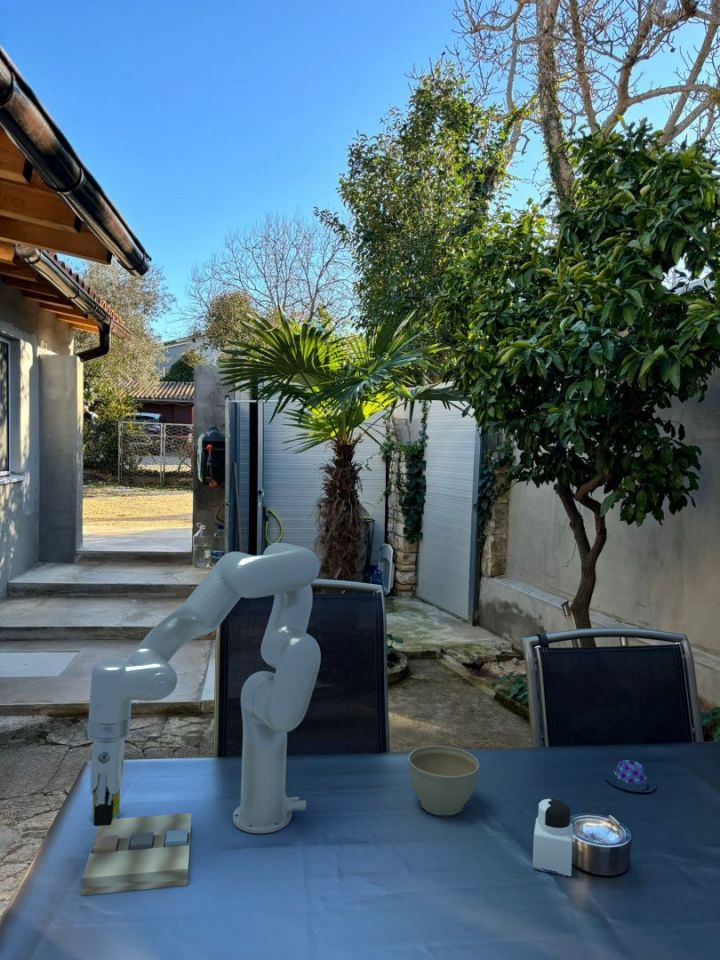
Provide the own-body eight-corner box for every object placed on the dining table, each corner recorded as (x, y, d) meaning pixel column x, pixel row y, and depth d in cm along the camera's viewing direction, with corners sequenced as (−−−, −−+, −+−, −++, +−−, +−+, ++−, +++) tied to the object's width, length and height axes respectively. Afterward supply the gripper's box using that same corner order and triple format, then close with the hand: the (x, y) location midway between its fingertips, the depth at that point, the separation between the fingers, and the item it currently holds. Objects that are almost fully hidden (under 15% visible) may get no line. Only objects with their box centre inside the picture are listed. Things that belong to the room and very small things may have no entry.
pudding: (664, 797, 160) (665, 775, 160) (615, 795, 160) (616, 773, 160) (644, 775, 172) (645, 755, 172) (598, 773, 172) (599, 753, 172)
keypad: (190, 827, 138) (191, 812, 138) (187, 885, 119) (188, 868, 119) (100, 834, 134) (100, 819, 134) (81, 895, 115) (81, 878, 115)
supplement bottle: (109, 825, 138) (111, 779, 138) (86, 821, 139) (88, 775, 139) (123, 812, 143) (125, 768, 143) (101, 809, 144) (103, 765, 144)
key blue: (187, 836, 130) (187, 829, 130) (186, 848, 126) (186, 840, 126) (166, 838, 129) (166, 831, 129) (165, 849, 125) (165, 842, 125)
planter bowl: (397, 815, 146) (399, 766, 146) (418, 785, 161) (420, 740, 161) (468, 832, 140) (470, 781, 140) (483, 799, 155) (485, 753, 155)
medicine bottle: (571, 858, 131) (573, 798, 131) (571, 878, 125) (573, 815, 125) (535, 850, 134) (537, 792, 134) (532, 870, 127) (534, 808, 127)
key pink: (118, 842, 127) (118, 834, 127) (115, 854, 123) (115, 846, 123) (96, 844, 126) (96, 836, 126) (92, 856, 122) (93, 848, 122)
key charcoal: (153, 839, 129) (153, 832, 129) (151, 851, 125) (151, 843, 125) (131, 841, 128) (132, 833, 128) (129, 853, 124) (129, 845, 124)
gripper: (124, 741, 118) (118, 843, 118) (134, 712, 133) (128, 803, 133) (80, 742, 117) (73, 846, 116) (95, 713, 131) (89, 805, 131)
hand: (103, 823), depth 124 cm, fingers closed
